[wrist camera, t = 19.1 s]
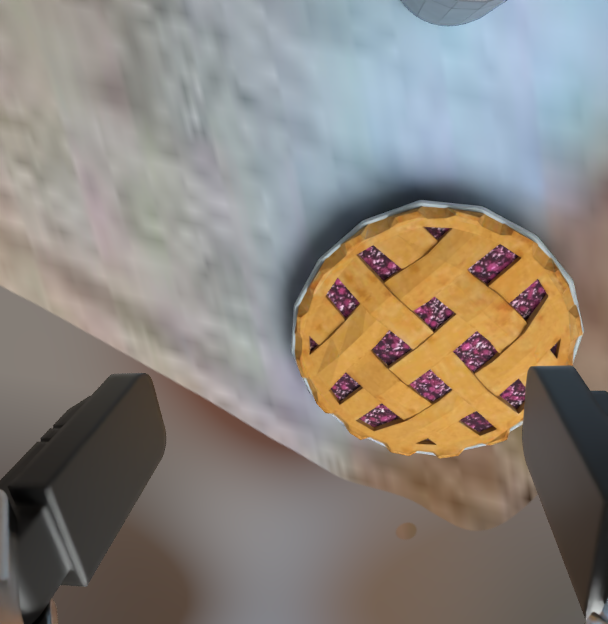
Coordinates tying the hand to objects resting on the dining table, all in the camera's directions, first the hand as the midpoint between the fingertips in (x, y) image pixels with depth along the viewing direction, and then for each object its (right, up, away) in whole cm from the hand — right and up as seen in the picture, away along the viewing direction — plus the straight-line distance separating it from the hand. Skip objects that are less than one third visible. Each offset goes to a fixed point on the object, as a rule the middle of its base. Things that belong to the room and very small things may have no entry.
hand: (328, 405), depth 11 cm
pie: (+10, +1, +32) cm, 33 cm away
